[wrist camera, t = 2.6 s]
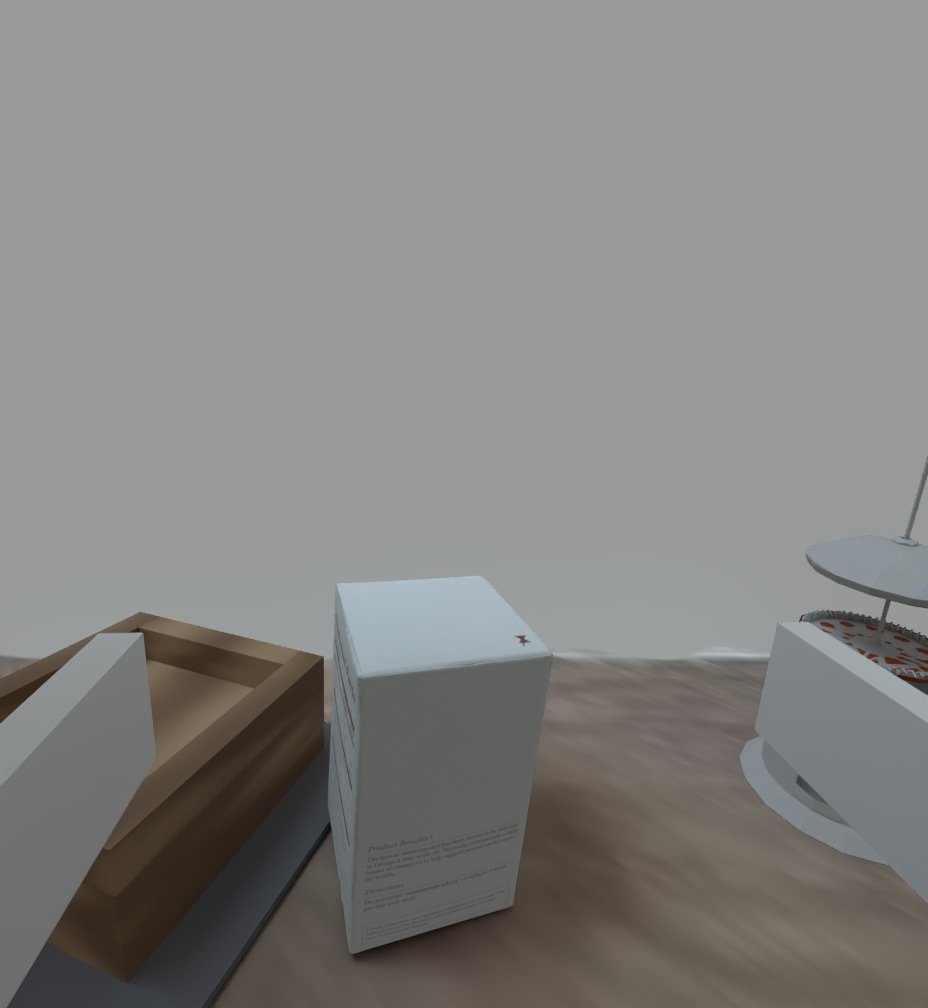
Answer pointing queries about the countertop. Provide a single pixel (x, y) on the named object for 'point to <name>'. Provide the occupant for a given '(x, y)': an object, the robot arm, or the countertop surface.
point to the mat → (202, 917)
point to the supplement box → (430, 752)
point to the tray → (187, 779)
